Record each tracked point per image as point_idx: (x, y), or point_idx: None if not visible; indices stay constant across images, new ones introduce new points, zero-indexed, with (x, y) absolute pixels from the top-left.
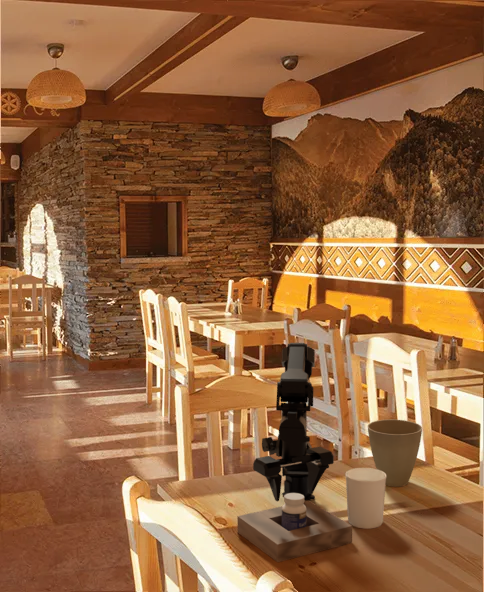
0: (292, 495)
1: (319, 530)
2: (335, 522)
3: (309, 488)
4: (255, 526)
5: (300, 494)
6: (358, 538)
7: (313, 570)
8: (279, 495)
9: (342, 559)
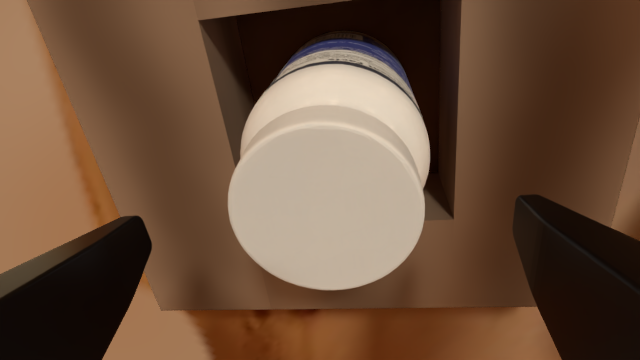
0: (317, 195)
1: (400, 281)
2: None
3: (534, 240)
4: (89, 107)
5: (407, 201)
6: (614, 226)
7: (286, 339)
8: (121, 309)
9: (415, 326)
